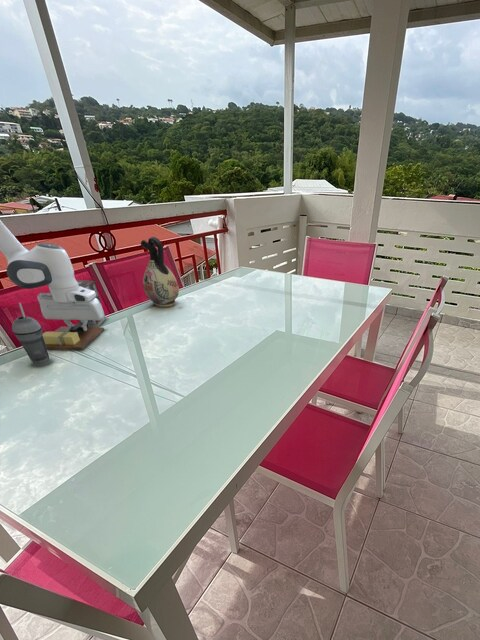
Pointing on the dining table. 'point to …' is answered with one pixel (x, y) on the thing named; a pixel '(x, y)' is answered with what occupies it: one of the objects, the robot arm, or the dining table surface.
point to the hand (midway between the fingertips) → (79, 330)
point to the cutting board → (84, 337)
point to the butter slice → (71, 338)
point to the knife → (73, 329)
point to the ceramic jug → (159, 276)
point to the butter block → (51, 337)
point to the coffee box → (92, 286)
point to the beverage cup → (31, 339)
